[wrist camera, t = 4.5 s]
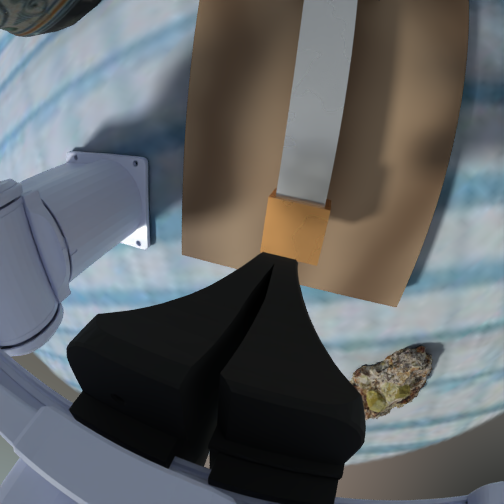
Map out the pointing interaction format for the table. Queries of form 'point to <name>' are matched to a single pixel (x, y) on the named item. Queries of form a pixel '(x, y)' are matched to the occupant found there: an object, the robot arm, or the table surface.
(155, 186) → the table surface
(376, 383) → the mineral rock
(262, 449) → the robot arm
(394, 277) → the base
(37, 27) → the beer stein
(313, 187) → the press lever
